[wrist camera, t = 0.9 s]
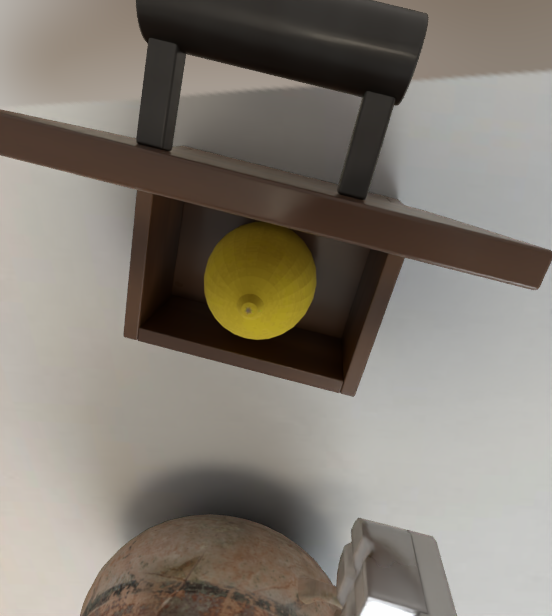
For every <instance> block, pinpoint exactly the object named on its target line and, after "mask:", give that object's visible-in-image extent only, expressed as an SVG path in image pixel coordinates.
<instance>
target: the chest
mask: <svg viewBox="0 0 552 616" xmlns="http://www.w3.org/2000/svg"><path fill="white" fill-rule="evenodd" d="M173 148H177V149H181V150H185V151H189V152H193V153H197V154H201V155H205V156H209V157H213V158H217V159H221V160H225V161H229V162H233V163H237V164H241V165H245V166H249V167H253V168H257V169H261V170H265V171H269V172H273V173H277V174H281V175H285V176H289V177H293V178H297V179H301V180H305V181H309V182H313V183H317V184H321V185H325V186H328V187H332V188H336V189H337V188H338V184H334V183H330V182H326V181H322V180H318V179H314V178H310V177H306V176H302V175H298V174H294V173H290V172H286V171H282V170H278V169H274V168H270V167H266V166H262V165H258V164H254V163H250V162H246V161H242V160H238V159H234V158H230V157H226V156H222V155H218V154H214V153H210V152H206V151H202V150H198V149H194V148H190V147H186V146H174V147H173ZM367 196H368V197H372V198H376V199H380V200H384V201H388V202H392V203H396V204H400V205H403V204H402V203H401V201H399V200H398V199H394V198H390V197H386V196H382V195H378V194H374V193H370V192H368V194H367ZM404 206H405V205H404ZM252 222H262V221H258V220H254V219H250V218H247V217H243V216H239V215H235V214H231V213H227V212H223V211H219V210H215V209H211V208H207V207H203V206H199V205H195V204H191V203H187V202H183V201H179V200H175V199H171V198H167V197H163V196H160V195H156V194H152V193H148V192H144V191H140V190H137V196H136V207H135V218H134V228H133V239H132V250H131V261H130V271H129V282H128V293H127V304H126V314H125V325H124V337H127V338H130V339H134V340H138V341H141V342H145V343H149V344H153V345H157V346H160V347H164V348H168V349H172V350H176V351H180V352H183V353H187V354H191V355H195V356H199V357H203V358H206V359H210V360H214V361H218V362H222V363H226V364H229V365H233V366H237V367H241V368H245V369H249V370H252V371H256V372H260V373H264V374H268V375H272V376H275V377H279V378H283V379H287V380H291V381H295V382H298V383H302V384H306V385H310V386H314V387H318V388H321V389H325V390H329V391H333V392H337V393H341V394H345V395H349V396H353V397H354V396H355V394H356V391H357V388H358V385H359V383H360V380H361V377H362V374H363V372H364V369H365V366H366V363H367V361H368V358H369V355H370V352H371V350H372V347H373V344H374V341H375V339H376V336H377V333H378V330H379V327H380V325H381V322H382V319H383V316H384V314H385V311H386V308H387V305H388V303H389V300H390V297H391V294H392V292H393V289H394V286H395V283H396V280H397V278H398V275H399V272H400V269H401V267H402V264H403V261H404V258H405V257H401V256H397V255H393V254H389V253H385V252H381V251H377V250H373V249H369V248H365V247H361V246H357V245H353V244H349V243H345V242H341V241H337V240H333V239H330V238H326V237H322V236H318V235H314V234H310V233H306V232H302V231H298V230H294V229H290V228H288V229H290V230H292V231H293V232H295V233H296V234H297V235H298V236H299V237H300V238H301V239H302V240H303V241H304V242H305V244H306V245H307V247H308V249H309V250H310V252H311V254H312V257H313V260H314V263H315V266H316V282H317V283H316V288H315V293H314V297H313V300H312V302H311V304H310V306H309V308H308V310H307V312H306V313H305V315H304V316H303V317H302V318H301V319H300V321H299V322H298V323H297V324H296V325H295V326H294V327H293V328H291V329H290V330H288V331H286V332H285V333H283V334H281V335H279V336H276V337H273V338H270V339H260V340H255V339H248V338H243V337H241V336H238V335H235V334H233V333H232V332H230V331H229V330H227V329H226V328H224V327H223V326H222V325H221V324H220V323H219V322H218V321H217V320H216V319H215V317H214V315H213V314H212V312H211V310H210V309H209V307H208V304H207V300H206V297H205V292H204V274H205V270H206V266H207V262H208V259H209V257H210V255H211V253H212V252H213V250H214V248H215V246H216V245H217V244H218V243H219V242H220V240H221V239H222V238H223V237H224V236H225V235H226V234H227V233H229V232H231V231H232V230H234V229H236V228H238V227H239V226H241V225H245V224H249V223H252Z"/></svg>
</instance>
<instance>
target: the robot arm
mask: <svg viewBox="0 0 552 616" xmlns="http://www.w3.org/2000/svg"><path fill="white" fill-rule="evenodd" d="M351 539H352V542H351V543H349V544H347V545H345V546H344V549H343V552H342V554H341V557H340V561H339V566H338V571H337V584H336V588H337V599H338V601H339V602H340V604H341V606H342V608H343V609H342V611H341V614H340V616H457V614H456V610H455V606H454V603H453V599H452V596H451V592H450V588H449V585H448V581H447V578H446V574H445V571H444V567H443V563H442V560H441V556H440V553H439V549H438V545H437V542H436V540H435V539H434V538H433V536H429V535H425V534H421V533H417V532H413V531H409V530H407V531H406V530H405V529H402V528H398V527H394V526H390V525H386V524H382V523H378V522H374V521H370V520H366V519H362V518H358V519H357V520H356V521H355V523H354V525H353V527H352V529H351Z"/></svg>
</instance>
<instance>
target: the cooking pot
mask: <svg viewBox="0 0 552 616" xmlns="http://www.w3.org/2000/svg"><path fill="white" fill-rule="evenodd" d="M342 609H343V608H342V606H341V604H340V602H339V601H338V599H337V588H336V586H333V585H332V583H331V581H330V579H329V578H328V576H327V575H326V574H325V572H324V571H323V570H322V569H321V567H320V566H319V565H318V563H317V562H316V561H315V560H314V559H313V558H312V557H311V556H310V555H309V554H308V553H306V552H305V551H304V550H303V549H302V548H301V547H300V546H299V545H297V544H296V543H294V542H293V541H291V540H290V539H288V538H287V537H285V536H284V535H283V534H281V533H279V532H277V531H275V530H273V529H271V528H269V527H267V526H265V525H262V524H259V523H256V522H253V521H250V520H247V519H242V518H237V517H232V516H226V515H212V514H207V515H192V516H186V517H181V518H177V519H172V520H168V521H166V522H163V523H161V524H158V525H156V526H154V527H151V528H149V529H147V530H145V531H144V532H142V533H141V534H139V535H138V536H136V537H135V538H133V539H132V540H130V541H129V542H128V543H126V544H125V545H124V546H123V547H122V548H121V549H119V550H118V552H117V553H116V554H115V555H114V556H113V557H112V558H111V559H110V560H109V561H108V562H107V563H106V564H105V565H104V566H103V568H102V569H101V570H100V572H99V574H98V575H97V577H96V579H95V581H94V583H93V584H92V586H91V588H90V590H89V592H88V594H87V596H86V598H85V601H84V603H83V606H82V610H81V614H80V616H340V614H341V611H342Z"/></svg>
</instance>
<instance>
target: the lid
mask: <svg viewBox="0 0 552 616" xmlns="http://www.w3.org/2000/svg"><path fill="white" fill-rule="evenodd" d="M136 8H137V18H138V23H139V27H140V31H141V34H142V36H143V38H144V39H145V41H146V42H147V43H148V49H147V57H146V65H145V73H144V81H143V89H142V97H141V105H140V114H139V122H138V130H137V138H132V137H127V136H122V135H118V134H113V133H108V132H104V131H99V130H94V129H90V128H85V127H80V126H75V125H71V124H66V123H61V122H57V121H52V120H47V119H43V118H38V117H33V116H28V115H24V114H19V113H14V112H10V111H5V110H0V155H1V156H5V157H9V158H13V159H17V160H21V161H25V162H29V163H33V164H37V165H41V166H45V167H49V168H53V169H57V170H61V171H65V172H69V173H73V174H77V175H80V176H84V177H88V178H92V179H96V180H100V181H104V182H108V183H112V184H116V185H120V186H124V187H128V188H132V189H136V190H140V191H144V192H148V193H152V194H156V195H160V196H163V197H167V198H171V199H175V200H179V201H183V202H187V203H191V204H195V205H199V206H203V207H207V208H211V209H215V210H219V211H223V212H227V213H231V214H235V215H239V216H243V217H247V218H250V219H254V220H258V221H262V222H266V223H270V224H274V225H278V226H282V227H286V228H290V229H294V230H298V231H302V232H306V233H310V234H314V235H318V236H322V237H326V238H330V239H333V240H337V241H341V242H345V243H349V244H353V245H357V246H361V247H365V248H369V249H373V250H377V251H381V252H385V253H389V254H393V255H397V256H401V257H405V258H409V259H413V260H416V261H420V262H424V263H428V264H432V265H436V266H440V267H444V268H448V269H452V270H456V271H460V272H464V273H468V274H472V275H476V276H480V277H484V278H488V279H492V280H496V281H499V282H503V283H507V284H511V285H515V286H519V287H523V288H527V289H531V290H537V289H538V288H539V287H540V285H541V283H542V281H543V278H544V276H545V274H546V272H547V270H548V267H549V265H550V263H551V261H552V251H551V250H548V249H545V248H542V247H538V246H535V245H532V244H529V243H526V242H523V241H519V240H516V239H513V238H510V237H507V236H504V235H500V234H497V233H494V232H491V231H488V230H484V229H481V228H478V227H475V226H472V225H469V224H465V223H462V222H459V221H456V220H453V219H450V218H446V217H443V216H440V215H437V214H434V213H431V212H427V211H424V210H420V209H416V208H412V207H408V206H404V205H400V204H396V203H392V202H388V201H384V200H380V199H376V198H372V197H368V196H367V194H368V191H369V188H370V184H371V181H372V177H373V174H374V171H375V167H376V164H377V161H378V157H379V154H380V150H381V147H382V144H383V140H384V137H385V134H386V130H387V127H388V123H389V120H390V117H391V113H392V110H393V106H394V105H399V104H400V103H401V101H402V99H403V98H404V96H405V93H406V91H407V89H408V87H409V84H410V82H411V79H412V76H413V73H414V71H415V68H416V65H417V62H418V59H419V56H420V53H421V49H422V46H423V43H424V39H425V35H426V31H427V26H428V14H427V13H423V12H418V11H415V10H410V9H406V8H402V7H398V6H394V5H389V4H385V3H381V2H377V1H373V0H136ZM186 54H188V55H192V56H196V57H201V58H205V59H209V60H213V61H217V62H221V63H225V64H229V65H233V66H237V67H241V68H245V69H249V70H254V71H258V72H262V73H266V74H270V75H274V76H278V77H282V78H286V79H290V80H294V81H298V82H302V83H306V84H311V85H315V86H319V87H323V88H327V89H331V90H335V91H339V92H343V93H347V94H351V95H355V96H359V97H362V100H361V104H360V108H359V111H358V115H357V119H356V122H355V126H354V130H353V133H352V137H351V141H350V144H349V148H348V152H347V155H346V159H345V163H344V166H343V170H342V174H341V177H340V181H339V185H338V188H337V189H336V188H332V187H328V186H325V185H321V184H317V183H313V182H309V181H305V180H301V179H297V178H293V177H289V176H285V175H281V174H277V173H273V172H269V171H265V170H261V169H257V168H253V167H249V166H245V165H241V164H237V163H233V162H229V161H225V160H221V159H217V158H213V157H209V156H205V155H201V154H197V153H193V152H189V151H185V150H181V149H177V148H173V147H172V145H173V138H174V131H175V125H176V118H177V111H178V105H179V98H180V91H181V84H182V78H183V71H184V64H185V58H186Z"/></svg>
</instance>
